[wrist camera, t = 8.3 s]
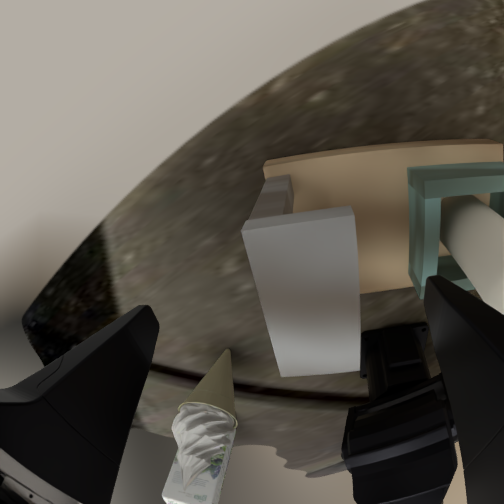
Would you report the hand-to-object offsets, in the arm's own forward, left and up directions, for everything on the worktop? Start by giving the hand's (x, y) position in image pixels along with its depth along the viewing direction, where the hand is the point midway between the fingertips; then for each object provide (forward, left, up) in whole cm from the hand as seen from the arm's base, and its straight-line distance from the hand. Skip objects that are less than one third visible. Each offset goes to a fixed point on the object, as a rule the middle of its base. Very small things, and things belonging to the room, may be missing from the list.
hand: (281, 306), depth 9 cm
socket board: (-3, -7, -12) cm, 15 cm away
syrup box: (-29, +15, -13) cm, 35 cm away
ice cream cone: (-15, +9, -13) cm, 22 cm away
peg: (-3, -11, -10) cm, 16 cm away
